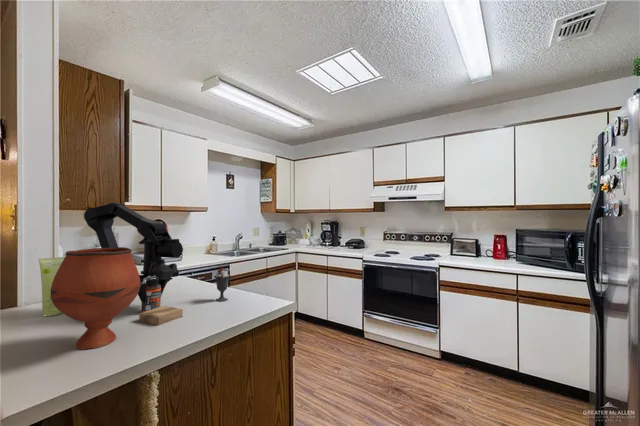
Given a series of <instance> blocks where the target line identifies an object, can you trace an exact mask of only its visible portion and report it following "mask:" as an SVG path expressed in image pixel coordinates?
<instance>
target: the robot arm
mask: <svg viewBox="0 0 640 426" xmlns="http://www.w3.org/2000/svg"><path fill="white" fill-rule="evenodd" d="M115 218H119V219H121V220H123V221H124V222H126V223H127V224H130V225H131V226H133V227H134V228H136V230H137V233H138V234H140V236H142V237H143V239H141V240H140V241H139V242H138V244H139V245H143V258H142V259H141V260H140V262H141V264H142V263H143V264H142V265H143V266H142V267H143V269H142V270H140V274H139V276H140V282H141V285H140V290H139V292H138V294H137V296H138V298H139V299H140V302H141V303H142V302H144V301H145V288H146V286H147V285H148V283H146V280H148V279H158V280H159V281H158V284H159V285H160V286H161V296H162V295H163V292H164V290H165V287H166V286H167V283H169V282H170V281H171V280H173V278H176V277H179V276H180V275H179V274H180V271H179V270H178V264H176V263H175V262H174V263H170V264H166V263H165V261H166V260H165V259H164V258H170V259H178V258H180V257H181V256H182V254H183V251H184V247H183V245H182V243H181V242H180V238H173V239H172V236H171V235H170V233H169V232H168V229H167V227H166V225H165V224H164V223H163V222H160V221H157V220H154V219H149V218H147V217H145V216H143V215H141V214H140V213H138V212H136V211H135V210H133V209H131V208H130V207H128V206H126V205H125V204H123V203H121V202H110V203H107V204H103V205H100V206H99V205H98V206H95V207H88V208H87V209H86V210H85V212H84V214H83V219H84V221H85V222H86V224H87V226H88V227H89V228H90V229H92V230H93V231H94V232H95V234H96V236H97V240H98V242H99V244H100V245H99V246H100V248H110V247H119V245H118V242H117V239H116V237H115V234H114V231H113V229H112V228H113V225H114V222H115V220H114V219H115Z"/></svg>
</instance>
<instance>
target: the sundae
mask: <svg viewBox="0 0 640 426" xmlns="http://www.w3.org/2000/svg"><path fill="white" fill-rule="evenodd" d="M217 266H218V267H219V268H218V269H217V272H216V273H215V275H214V276H213V277H214V279H215V283H216V289H217V291H219V293H220V296H219V298H216V299H215V301H216V302H217V303H219V302H222V301H223V302H226V301H229V298H227V297H225V296H224V293H225V291H226V290H227V289H228V287H229V281H230V277H231V276H232V275H231V270H228V271H227V269H225V268H223V267H222V266H220V264H217ZM220 268H221V269H220Z"/></svg>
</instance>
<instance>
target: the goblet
mask: <svg viewBox="0 0 640 426" xmlns="http://www.w3.org/2000/svg"><path fill="white" fill-rule="evenodd" d="M132 251H133V250H132V249H131V248H128V247H125V246H124V247H121V246H120V247H119V246H118V247H110V248H101V247H96V248H95V247H94V248H85V249H78V250H67V251H65V256H64V257H65V258H64V260H63V262H62V263H61V265H60V267H59V269H58V271H57V273H56V275H55V277H54V280H53V282H52V286H51V300H52V302H53V304H54V306H55V307H56V308H57V309H58V310H59V311H60V312H61V314H62V315H65V317H68V318H70V319H72V320H74V321H77V322H80V323H81V322H82V323H84V327H85V328H86V330H85V332H84V333H83V334H82V335H81V336H80V337H79V338H78V339H77V340H76V342H75V344H74V347H75V349H77V350H89V349H95V348H99V347H104V346H107V345H109V344H111V343H112V342H114V341H116V340H117V335H116V334H115V332H114V331H113V330H111V329H110V328H109V326H110V325H111V324H112V323H113V320H112V319H113V318H115V317H116V316H118V315H119V314H122V312H124V311H125V310H126V309H127V308H128V307H130V305H131V304H132V303H133V301H134V300H135V299H136V298H137V296H138V292H139V290H140V285H141V282H140V276H139V275H140V272H139V270H138V268H137V266H136V263H135V260H134V258H133V256H132Z"/></svg>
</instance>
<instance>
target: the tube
mask: <svg viewBox="0 0 640 426" xmlns="http://www.w3.org/2000/svg"><path fill="white" fill-rule="evenodd" d="M64 258H65V256H62V257H61V256H58V257H45V258H38V263H39V269H40V270H39V271H40V280H41V301H42V304H41V305H42V306H41V307H42V316H43V315H46V316H45V317H53V316H52V315H54V316H57V314H58V315H61V314H62V313H61V312H60V311H59V310H58V309H57V308H56V307H55V306H54V304H53V302H52V300H51V286H52V282H53V280H54V277H55V275H56V273H57V271H58V269H59V267H60V265H61V263H62V262H63V260H64ZM60 313H61V314H60Z"/></svg>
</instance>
